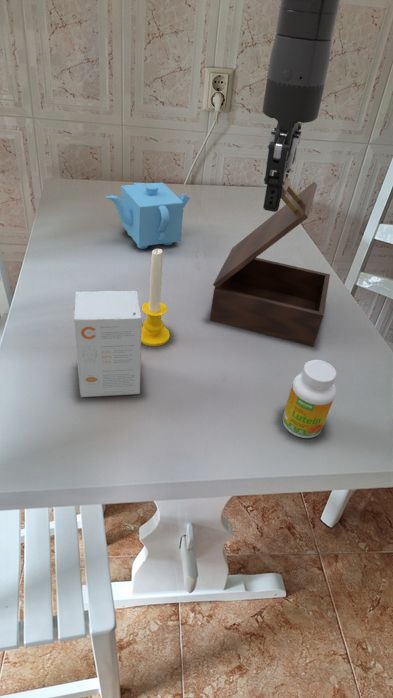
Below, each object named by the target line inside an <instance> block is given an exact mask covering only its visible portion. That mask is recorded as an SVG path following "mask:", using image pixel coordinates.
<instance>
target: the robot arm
mask: <svg viewBox="0 0 393 698" xmlns="http://www.w3.org/2000/svg"><path fill="white" fill-rule="evenodd" d="M340 4H341V0H280V3H279V9H278V16H277V23H276V29H275V36H274V40H273V45H272V47H271V51H270V57H269V63H268V70H267V75H266V76H267V77H266V83H265V84H266V85H265V90H264V98H263V104H262V113H263V114H264V115H265V116H266V117H268V118H270V119H275V120H276V121H277V124H276V126H274V127H273V130H272V131H270V135H269V139H268V147H267V149H268V153H267V159H266V167H265V174H264V175H265V176H264V179H263V181H264V185H266V189H265V195H264V200H263V206H262V208H263V210H264V211H268V212H273V213H276V212H277V211H279V210H280V209H279V208H280V203H281V200H282V199H281V194H282V188H283V185H285V177H286V176H287V177H288V178H289V175H290V173H291V171H292V169H293V168H292V166H293V164H294V162H295V160H296V157H297V153H298V147H299V145H300V142H301V139H302V134H303V131H302V130H301V129H302V124H305V123H307V124H308V123H312V122H314V121H316V120H317V119H318V117H319V112H320V110H321V109H320V108H321V105H322V104H321V103H322V99H323V96H324V95H323V94H324V89H325V84H326V80H327V75H328V71H329V65H330V60H331V52H332V51H331V50H332V43H333V36H334V32H335V27H336V24H337V23H336V22H337V18H338V14H339V9H340Z"/></svg>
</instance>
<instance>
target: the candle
mask: <svg viewBox="0 0 393 698" xmlns="http://www.w3.org/2000/svg"><path fill="white" fill-rule="evenodd" d="M149 273H150V275H149V292H148V293H149V294H148V295H149V296H148V301H146V302H144V303H143V304H142V305H141V311H142V312H143V313H144V314H146V319H145V320H144V321H143V323H142V324H143V325H142V328H141V344H143V345H144V346H145V345H146V346H149V347H160V346H163V345H165V344H167V343H168V342H169V340H170V337H171V334H170V330H169V329H168V328H166V327H165V322H164V321H163V320H162V315H164V314H165V315H166V313H167V312H168V306H167V305H166V304H165V303H163V302H161V299H162V298H161V296H162V278H163V277H162V276H163V249H161V248H158V247H157V246H156V248H154V249H153V250H152V251H151V259H150V272H149Z"/></svg>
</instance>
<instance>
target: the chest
mask: <svg viewBox="0 0 393 698" xmlns="http://www.w3.org/2000/svg"><path fill="white" fill-rule="evenodd" d="M330 278H331V274H330V273H327V272H322V271H317V270H313V269H309V268H304V267H300V266H296V265H291V264H286V263H283V262H278V261H272V260H268V259H264V258H260V257H256V258H255V259H253V260H252V261H251V262H250V263H248V264H247V265H246V266H244V267H243V268H242V269H240V270H239V271H238V272H237V273H235V274H234V275H233V276H231V277H230V278H229V279H227V280H226V281H225V282H223V283H222V284H221V285H220V286H218V287H217V288H215V287H214V288H213V293H212V301H211V307H210V308H211V309H210V314H209V322H213V323H218V324H222V325H225V326H229V327H233V328H237V329H240V330H245V331H249V332H253V333H258V334H260V335H261V334H262V335H265V336H269V337H273V338H275V339H276V338H277V339H281V340H285V341H289V342H293V343H296V344H300V345H304V346H307V347H312V348H314V346H315V343H316V341H317V337H318V335H319V334H318V333H319V331H320V329H321V326H322V322H323V319H324V315H325V310H326V309H325V308H326V304H327V296H328V290H329V285H330Z"/></svg>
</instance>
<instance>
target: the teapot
mask: <svg viewBox="0 0 393 698" xmlns="http://www.w3.org/2000/svg"><path fill="white" fill-rule="evenodd" d="M104 198H106V199H108V200H110V201H112V202H113V204H114V205H115V208H116V211H117V215H118V217H119V219H120V224H121V226H122V227H123V229H125V231H126V232H127V235H128V236H130V237H131V239H132V240H133V241H134V243H135V244H136V247H137V248H139V249H147V248H148V247H149V246H155V245H161V244H162V245H164V246H172V245H173V243H177V242H181V239H182V229H183V217H184V208H185V207H186V205H187V204H188V202H189V200H190V198H191V197H190V196H189V195H188V194H185V193H181V195H180V196H179V197H178V196H177V195H176V194H175V193H174V192H173V190H171V189H170V188H169V187H168V186H167V185H166V184H165V183H164V182H162V181H161V182H150V183H149V182H147V183H144V182H143V183H142V182H133V183H132V184H125V185H121V186H120V197H119V196H117V195H115V194H114V195H113V194H111V195H104Z"/></svg>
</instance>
